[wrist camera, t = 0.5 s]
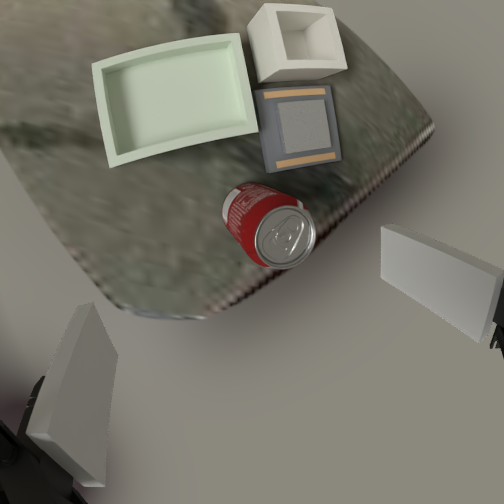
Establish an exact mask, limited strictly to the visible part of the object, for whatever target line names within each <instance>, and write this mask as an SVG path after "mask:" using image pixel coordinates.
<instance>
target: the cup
mask: <svg viewBox="0 0 504 504" xmlns="http://www.w3.org/2000/svg"><path fill="white" fill-rule="evenodd" d="M246 29H247V33H248V38H249V42H250V47H251V52H252V56H253V61H254V66H255V71H256V76H257V81H258V84H259V83H270V82H283V81H300V80H318V79H321V78H324V77H326V76H329V75H332V74H335V73H338V72H340V71H343V70H346V69H348V68H347V64H346V59H345V55H344V51H343V46H342V42H341V38H340V35H339V31H338V27H337V23H336V20H335V16H334V13H333V10H332V8H327V7H319V6H309V5H296V4H274V3H264V5H263V6H262V7H261V8H260V10H259V11H258V12H257V13H256V15H255V16H254V17H253V19H252V20H251V21H250V23H249V24H248V25H247V27H246Z"/></svg>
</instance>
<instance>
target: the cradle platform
mask: <svg viewBox="0 0 504 504" xmlns="http://www.w3.org/2000/svg"><path fill="white" fill-rule="evenodd" d="M275 110H276V115H277V121H278V126H279V132H280V137H281V143H282V149H283V154H289V153H295V152H301V151H307V150H314V149H321V148H328V147H331V141H330V134H329V128H328V121H327V115H326V109H325V104H324V100H307V101H294V102H283V103H277V104H275Z"/></svg>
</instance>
